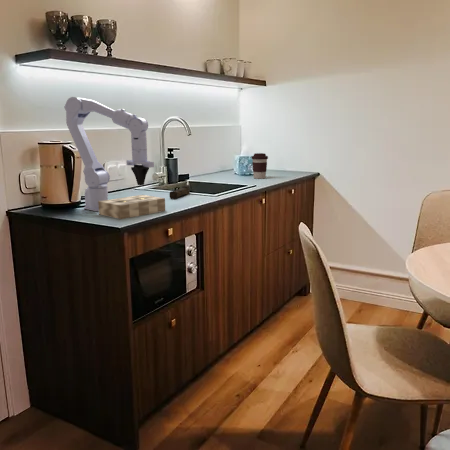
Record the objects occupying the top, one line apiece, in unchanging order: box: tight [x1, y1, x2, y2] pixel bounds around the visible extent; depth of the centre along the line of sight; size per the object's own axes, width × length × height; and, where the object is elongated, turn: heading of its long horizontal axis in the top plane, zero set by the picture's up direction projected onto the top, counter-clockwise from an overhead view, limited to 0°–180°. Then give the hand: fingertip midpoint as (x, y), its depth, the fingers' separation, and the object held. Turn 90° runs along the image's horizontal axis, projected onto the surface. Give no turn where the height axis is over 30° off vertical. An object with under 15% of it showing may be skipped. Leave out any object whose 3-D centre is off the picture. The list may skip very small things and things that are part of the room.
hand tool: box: [168, 184, 191, 200], centre depth 221 cm, size 19×4×5 cm, turn 159°
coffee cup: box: [251, 152, 269, 180], centre depth 286 cm, size 10×10×15 cm
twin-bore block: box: [98, 194, 166, 220], centre depth 181 cm, size 14×21×5 cm, turn 138°
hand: (140, 184), depth 183 cm, fingers closed
